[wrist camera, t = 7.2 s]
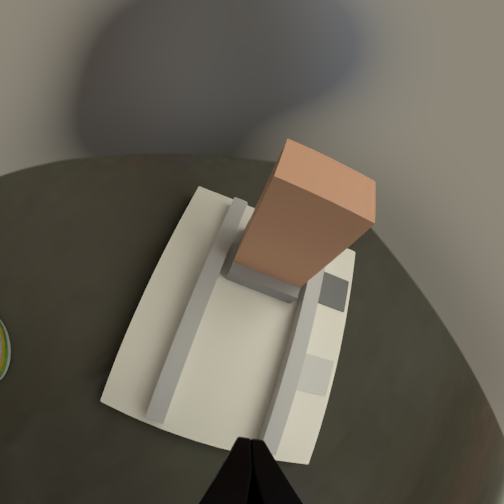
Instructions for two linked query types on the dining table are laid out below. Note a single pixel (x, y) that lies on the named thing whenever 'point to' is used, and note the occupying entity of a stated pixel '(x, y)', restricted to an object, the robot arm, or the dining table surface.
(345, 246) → the slide tab
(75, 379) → the dining table surface
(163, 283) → the switch board
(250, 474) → the robot arm
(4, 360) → the supplement bottle
